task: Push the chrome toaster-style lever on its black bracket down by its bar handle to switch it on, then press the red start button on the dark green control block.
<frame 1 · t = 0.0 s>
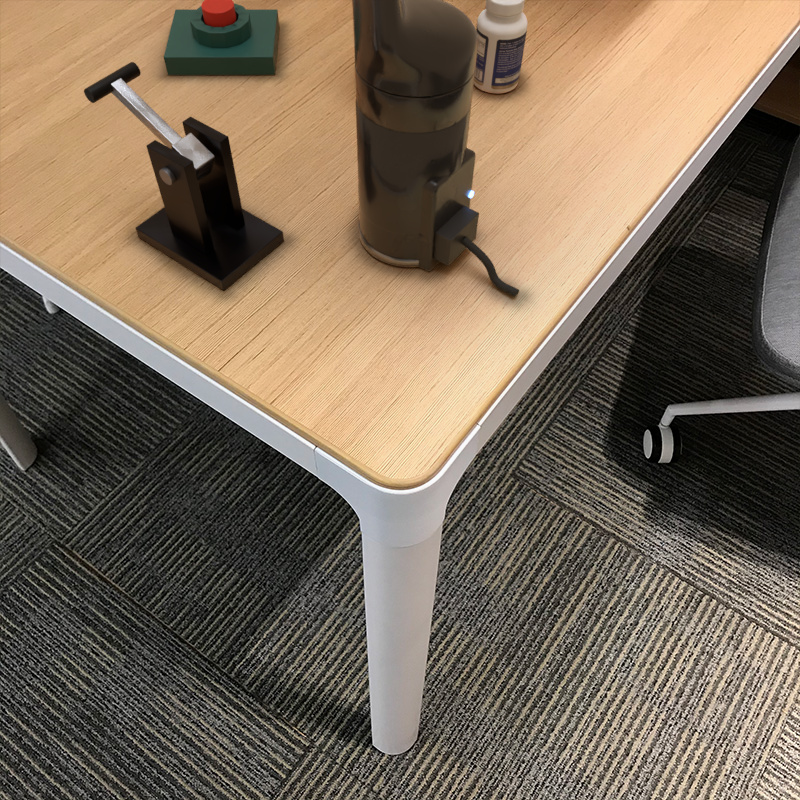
control block: (225, 50, 89), on the table
lever: (156, 124, 64), point 11 cm above the table, hinge at 25.0°
toaster bracket: (211, 239, 71), on the table
start button: (218, 12, 86), point 5 cm above the table, slide at 0.2 cm
pill bottle: (494, 82, 87), on the table
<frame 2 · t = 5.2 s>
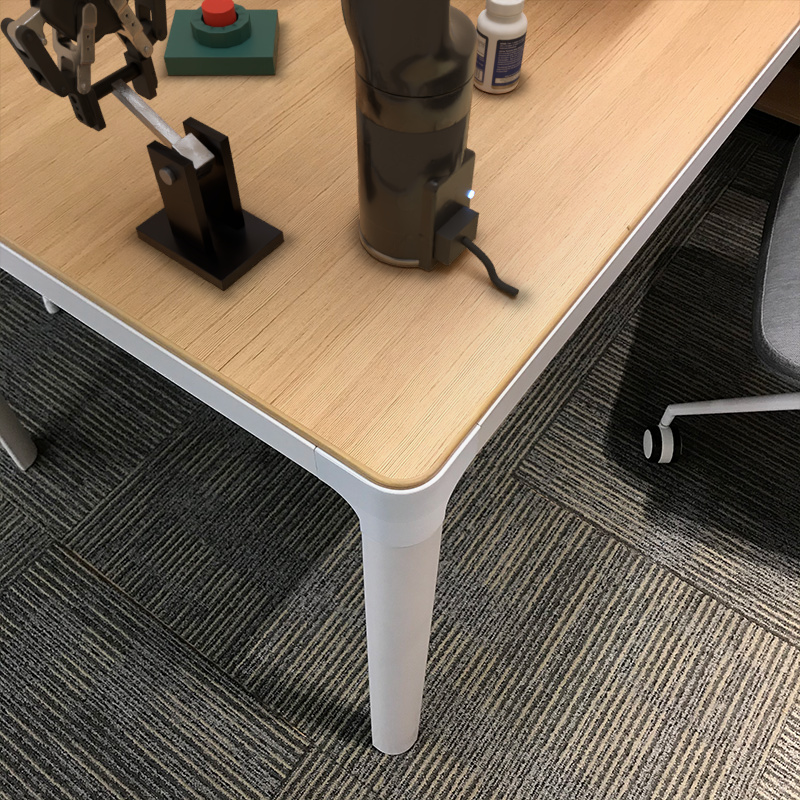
hand: (121, 109, 66), 10 cm above the table, tool pointing down, fingers closed on lever, 5 cm apart
lever: (156, 124, 64), point 11 cm above the table, hinge at 24.9°, touching gripper
everything else where it was.
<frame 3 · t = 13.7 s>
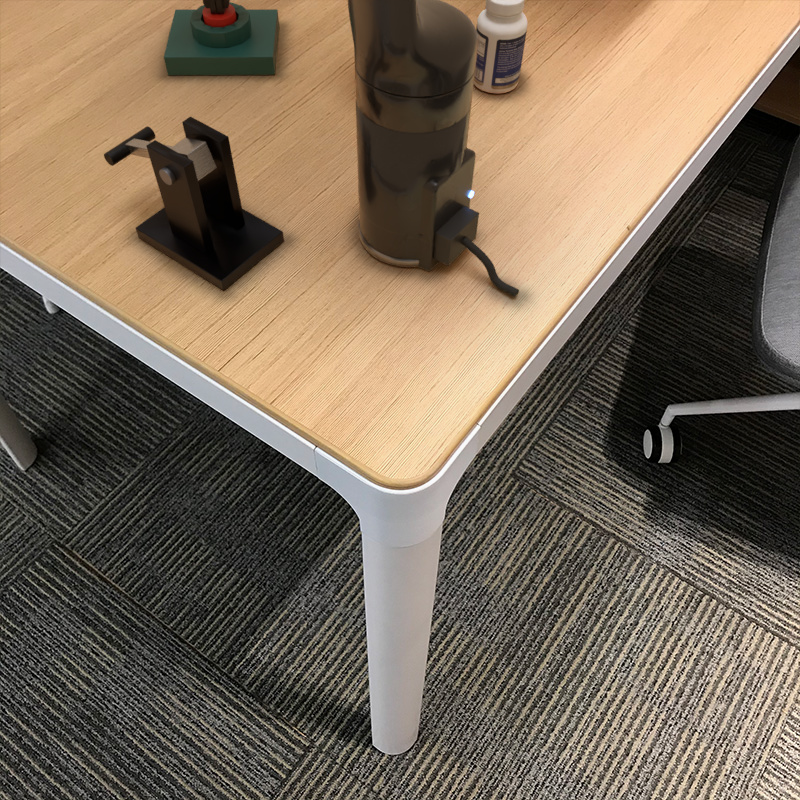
hand: (218, 10, 86), 5 cm above the table, tool pointing down, fingers closed
lever: (162, 152, 66), point 8 cm above the table, hinge at -17.2°
start button: (220, 18, 86), point 4 cm above the table, slide at -0.6 cm, touching gripper
everything else where it was.
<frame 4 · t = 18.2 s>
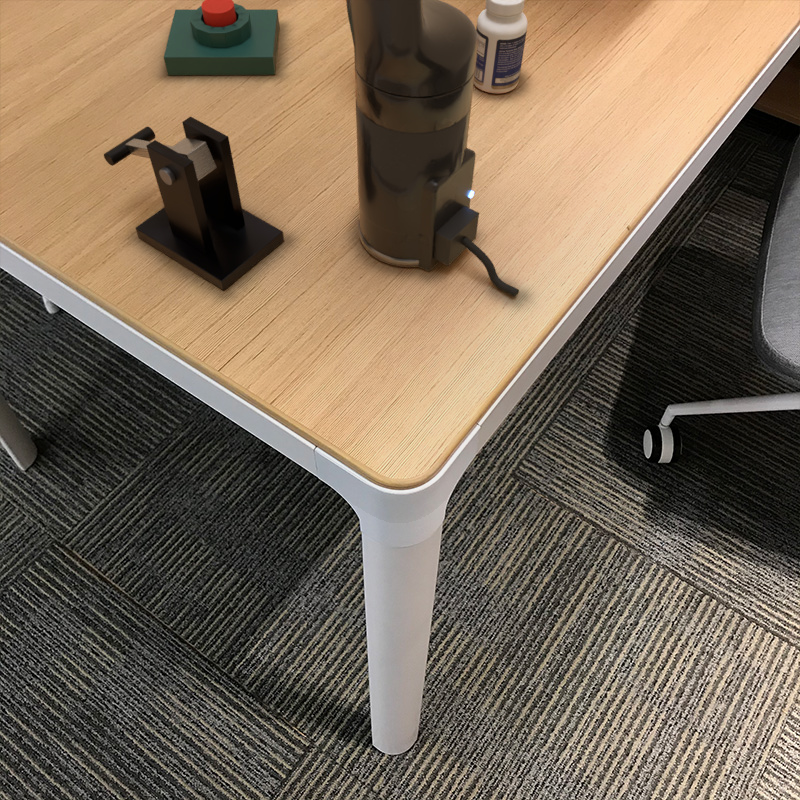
start button: (219, 12, 86), point 5 cm above the table, slide at 0.1 cm
everything else where it was.
at the end: lever at -17° (first picture: +25°); start button pushed in 1.1 cm at the most during the clip, back to where it started at the end; start button slide at 0.1 cm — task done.
